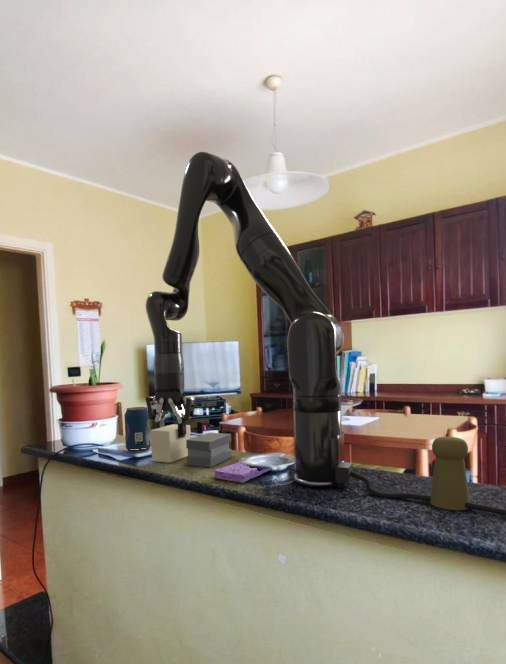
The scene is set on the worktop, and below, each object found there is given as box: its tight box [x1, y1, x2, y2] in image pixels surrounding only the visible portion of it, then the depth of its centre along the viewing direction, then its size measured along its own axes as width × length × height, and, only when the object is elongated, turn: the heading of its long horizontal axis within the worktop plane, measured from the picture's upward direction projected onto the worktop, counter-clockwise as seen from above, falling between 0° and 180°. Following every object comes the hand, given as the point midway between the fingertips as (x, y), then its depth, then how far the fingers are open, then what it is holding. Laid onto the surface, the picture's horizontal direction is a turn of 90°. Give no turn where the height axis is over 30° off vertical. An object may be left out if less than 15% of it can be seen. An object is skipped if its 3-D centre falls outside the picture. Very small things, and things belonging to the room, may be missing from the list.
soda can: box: [123, 406, 151, 454], centre depth 120 cm, size 7×7×12 cm
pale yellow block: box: [150, 423, 191, 442], centre depth 110 cm, size 6×10×3 cm, turn 153°
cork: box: [428, 436, 471, 511], centre depth 70 cm, size 6×6×11 cm
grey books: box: [186, 432, 232, 468], centre depth 105 cm, size 7×11×6 cm, turn 153°
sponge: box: [214, 459, 272, 483], centre depth 92 cm, size 7×13×2 cm, turn 145°
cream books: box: [150, 435, 191, 464], centre depth 110 cm, size 6×10×5 cm, turn 153°
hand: (171, 436), depth 110 cm, fingers closed on pale yellow block, 5 cm apart
